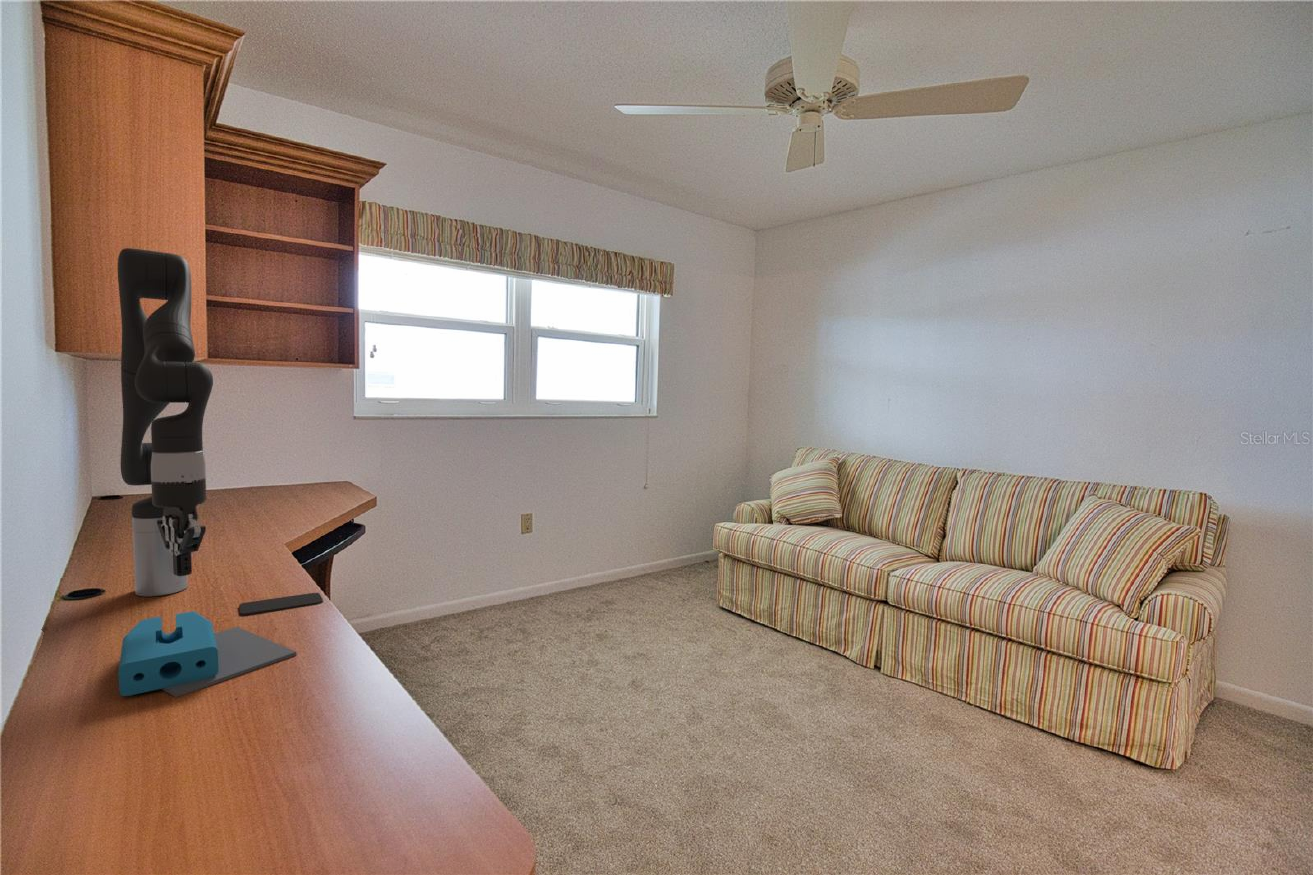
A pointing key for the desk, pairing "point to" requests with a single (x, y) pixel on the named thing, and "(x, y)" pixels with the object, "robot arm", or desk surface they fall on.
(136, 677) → the block
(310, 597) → the phone
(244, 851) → the desk surface
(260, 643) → the mat
